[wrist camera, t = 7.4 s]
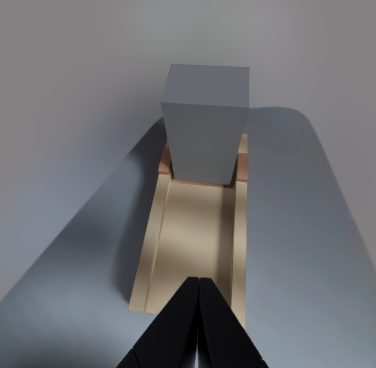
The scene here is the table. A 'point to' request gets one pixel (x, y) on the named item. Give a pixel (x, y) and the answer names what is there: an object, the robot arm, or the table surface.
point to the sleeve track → (194, 238)
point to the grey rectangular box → (205, 120)
